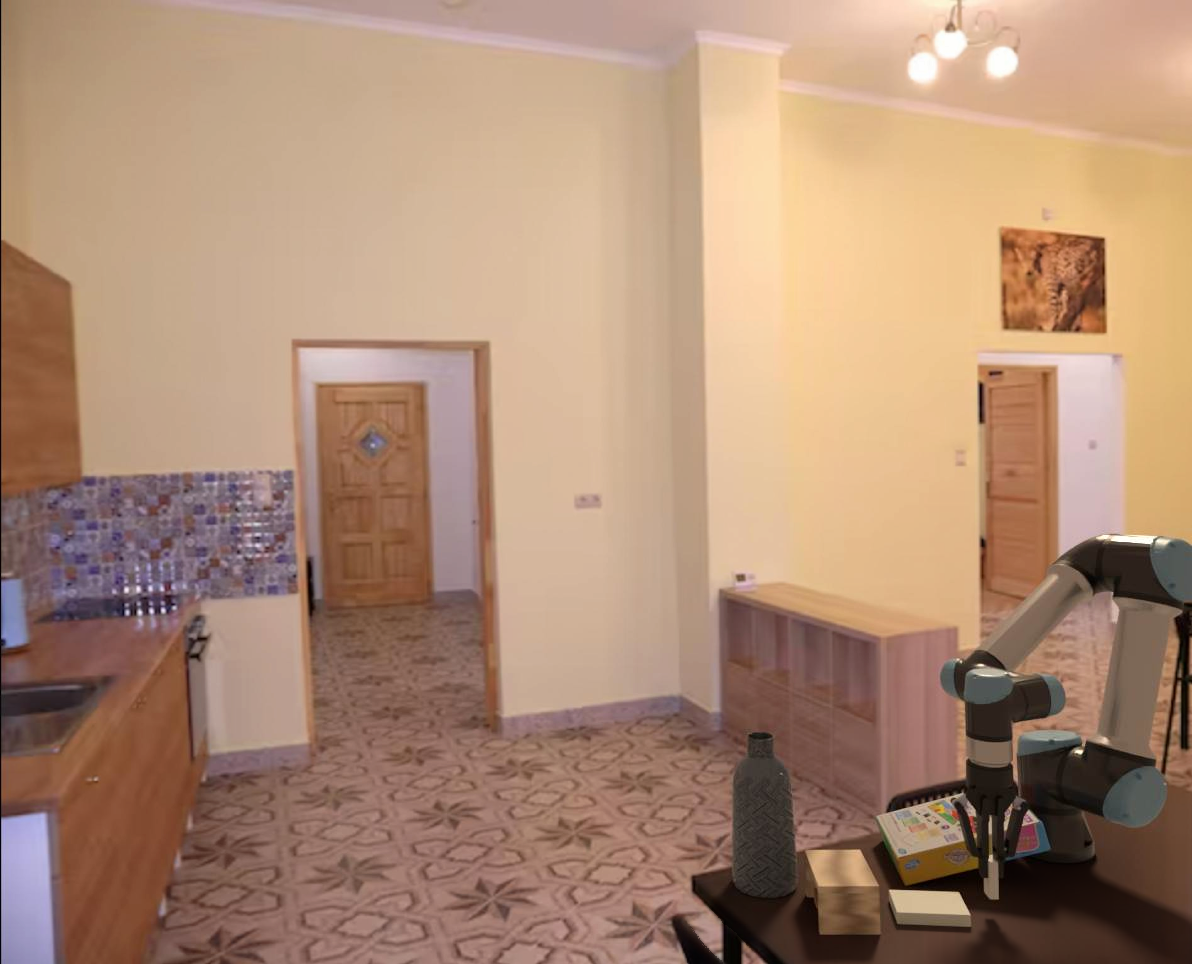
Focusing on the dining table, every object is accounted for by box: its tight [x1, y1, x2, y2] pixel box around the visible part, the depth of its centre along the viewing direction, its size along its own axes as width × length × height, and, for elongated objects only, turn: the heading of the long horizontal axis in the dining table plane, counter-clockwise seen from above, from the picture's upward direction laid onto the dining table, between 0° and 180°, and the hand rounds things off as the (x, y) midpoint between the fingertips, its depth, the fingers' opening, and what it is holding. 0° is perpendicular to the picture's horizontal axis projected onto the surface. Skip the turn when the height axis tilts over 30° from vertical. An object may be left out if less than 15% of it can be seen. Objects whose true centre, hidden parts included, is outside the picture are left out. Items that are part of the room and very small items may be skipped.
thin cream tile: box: [888, 889, 972, 928], centre depth 155 cm, size 12×8×2 cm, turn 81°
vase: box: [731, 731, 799, 899], centre depth 168 cm, size 12×12×28 cm
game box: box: [874, 792, 1050, 887], centre depth 173 cm, size 21×6×27 cm
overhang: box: [804, 849, 882, 936], centre depth 156 cm, size 10×14×8 cm
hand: (991, 895), depth 154 cm, fingers closed
